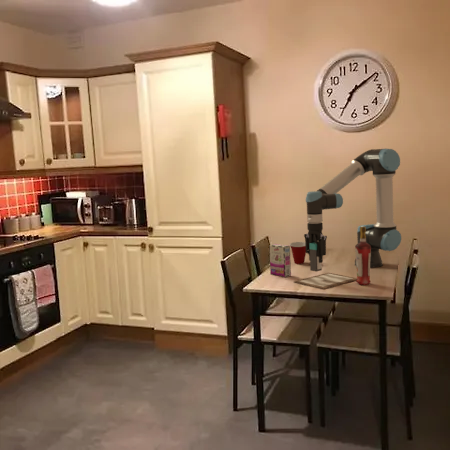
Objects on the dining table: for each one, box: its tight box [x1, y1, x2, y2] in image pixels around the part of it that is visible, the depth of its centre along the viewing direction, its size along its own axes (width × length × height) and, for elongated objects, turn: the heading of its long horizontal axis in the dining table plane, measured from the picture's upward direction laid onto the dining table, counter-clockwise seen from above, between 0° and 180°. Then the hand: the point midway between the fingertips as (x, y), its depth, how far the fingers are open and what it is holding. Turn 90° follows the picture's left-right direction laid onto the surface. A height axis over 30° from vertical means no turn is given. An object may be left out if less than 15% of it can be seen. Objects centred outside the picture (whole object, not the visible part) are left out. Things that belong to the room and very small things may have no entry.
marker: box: [309, 243, 323, 272], centre depth 259 cm, size 4×4×14 cm
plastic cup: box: [289, 241, 307, 265], centre depth 303 cm, size 11×11×12 cm
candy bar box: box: [269, 243, 292, 278], centre depth 275 cm, size 11×5×16 cm, turn 40°
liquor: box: [354, 227, 372, 286], centre depth 248 cm, size 7×7×28 cm
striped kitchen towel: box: [293, 272, 357, 290], centre depth 258 cm, size 26×20×1 cm
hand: (316, 268), depth 260 cm, fingers closed on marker, 4 cm apart
